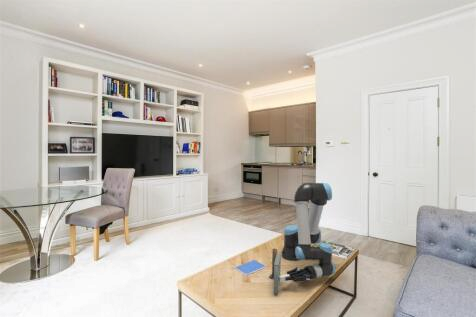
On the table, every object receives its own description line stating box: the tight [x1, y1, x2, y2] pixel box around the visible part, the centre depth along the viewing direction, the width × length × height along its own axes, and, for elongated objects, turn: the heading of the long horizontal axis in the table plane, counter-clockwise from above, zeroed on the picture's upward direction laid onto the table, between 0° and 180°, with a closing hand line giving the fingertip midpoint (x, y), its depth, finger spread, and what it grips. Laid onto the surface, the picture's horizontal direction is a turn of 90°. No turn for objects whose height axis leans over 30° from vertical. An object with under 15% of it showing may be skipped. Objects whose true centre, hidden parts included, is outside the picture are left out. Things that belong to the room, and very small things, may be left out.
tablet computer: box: [234, 259, 267, 276], centre depth 165 cm, size 19×13×1 cm, turn 130°
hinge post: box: [268, 248, 278, 280], centre depth 152 cm, size 5×5×18 cm
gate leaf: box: [273, 252, 282, 294], centre depth 142 cm, size 20×3×16 cm, turn 165°
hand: (279, 279), depth 137 cm, fingers closed
